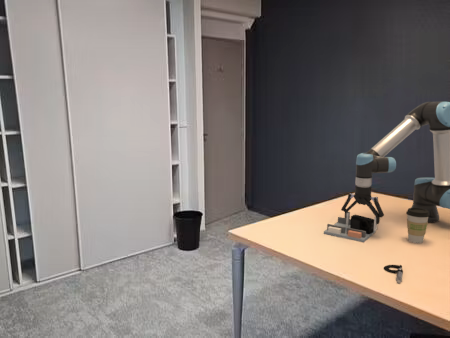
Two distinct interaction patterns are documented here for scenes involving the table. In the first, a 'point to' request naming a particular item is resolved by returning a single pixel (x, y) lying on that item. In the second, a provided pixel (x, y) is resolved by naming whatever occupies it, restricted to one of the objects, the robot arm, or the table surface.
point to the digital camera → (362, 223)
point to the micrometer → (395, 271)
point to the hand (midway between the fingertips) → (361, 227)
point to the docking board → (346, 231)
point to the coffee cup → (417, 224)
